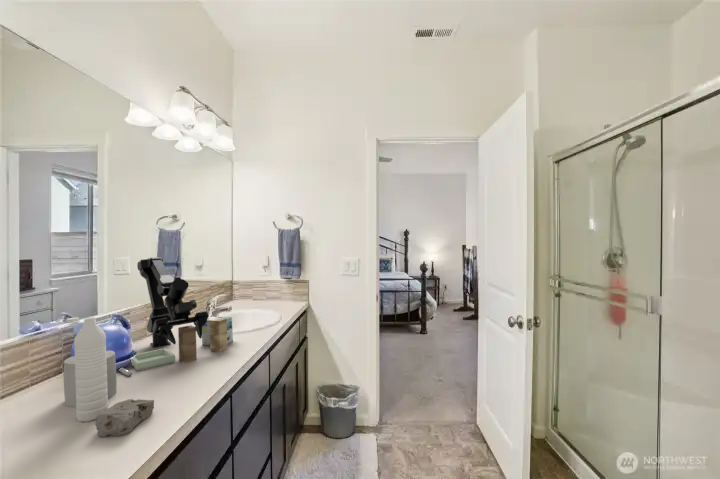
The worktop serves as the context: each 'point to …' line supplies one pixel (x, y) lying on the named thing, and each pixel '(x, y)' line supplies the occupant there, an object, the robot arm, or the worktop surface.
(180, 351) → the walnut block
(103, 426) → the stone
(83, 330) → the water bottle
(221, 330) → the oak block
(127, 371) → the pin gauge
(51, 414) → the worktop surface
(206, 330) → the light bulb box
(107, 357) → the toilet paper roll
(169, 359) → the tray
